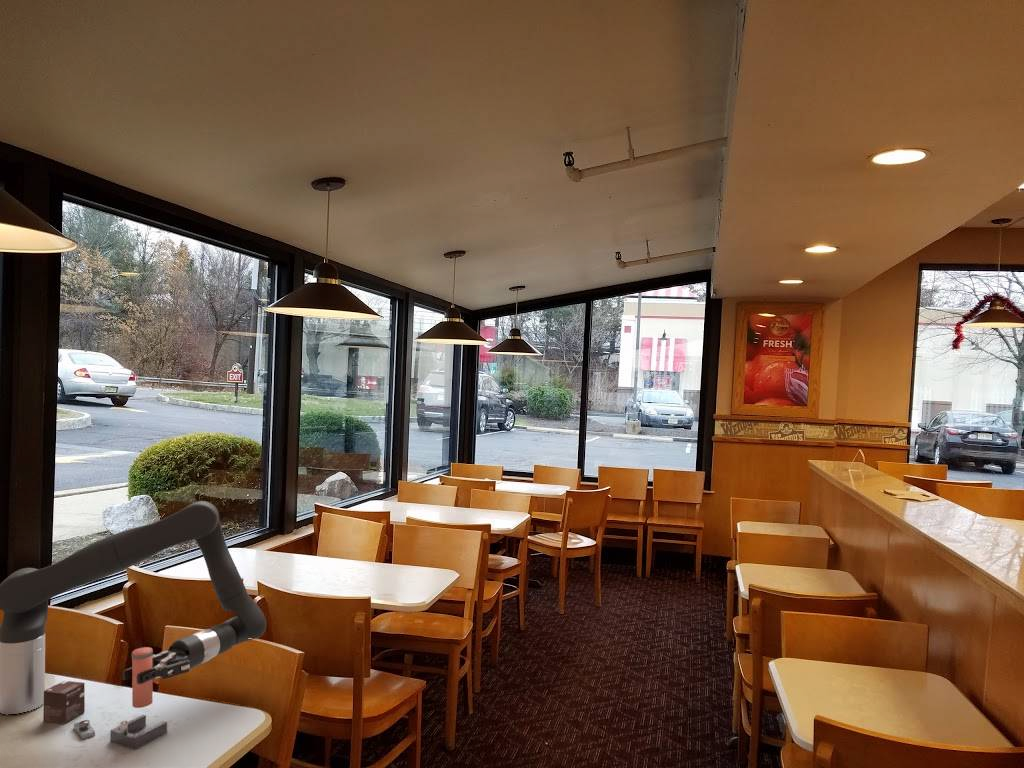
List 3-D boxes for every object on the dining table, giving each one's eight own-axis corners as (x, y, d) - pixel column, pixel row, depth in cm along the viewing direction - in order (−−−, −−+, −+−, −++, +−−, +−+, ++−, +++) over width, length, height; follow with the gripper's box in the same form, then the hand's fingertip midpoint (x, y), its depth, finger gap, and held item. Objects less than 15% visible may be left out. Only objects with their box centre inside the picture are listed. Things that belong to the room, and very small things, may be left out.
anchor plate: (73, 728, 158) (73, 718, 158) (86, 724, 160) (86, 714, 160) (82, 739, 153) (82, 729, 153) (94, 735, 155) (95, 725, 155)
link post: (129, 703, 155) (128, 650, 155) (149, 697, 158) (149, 645, 158) (135, 710, 152) (135, 656, 152) (155, 703, 155) (155, 650, 155)
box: (64, 725, 159) (64, 693, 159) (42, 722, 160) (42, 691, 160) (85, 712, 165) (85, 682, 165) (64, 710, 166) (64, 679, 166)
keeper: (108, 742, 152) (108, 719, 152) (142, 725, 159) (143, 703, 159) (133, 750, 149) (133, 727, 148) (167, 732, 156) (167, 711, 156)
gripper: (174, 629, 171) (109, 655, 155) (216, 639, 165) (153, 666, 149) (174, 659, 171) (109, 688, 155) (216, 670, 165) (153, 700, 149)
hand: (131, 677), depth 152 cm, fingers closed on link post, 4 cm apart
